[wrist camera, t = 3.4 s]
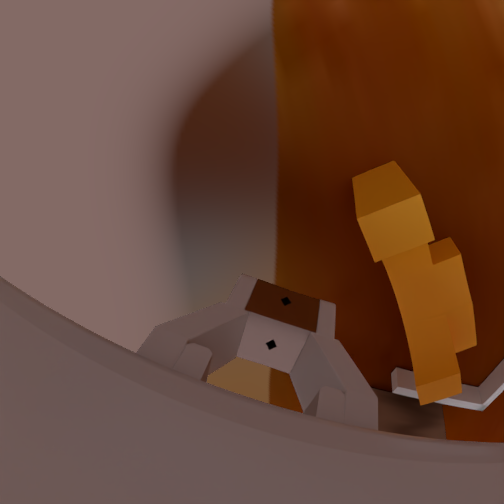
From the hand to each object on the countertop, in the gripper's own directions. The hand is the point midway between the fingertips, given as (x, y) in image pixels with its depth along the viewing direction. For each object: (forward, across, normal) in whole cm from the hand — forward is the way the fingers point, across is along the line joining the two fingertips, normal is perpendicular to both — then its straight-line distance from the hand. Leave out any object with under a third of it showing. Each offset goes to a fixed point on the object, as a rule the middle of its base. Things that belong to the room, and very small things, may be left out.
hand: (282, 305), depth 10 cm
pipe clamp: (+10, -8, +1) cm, 12 cm away
